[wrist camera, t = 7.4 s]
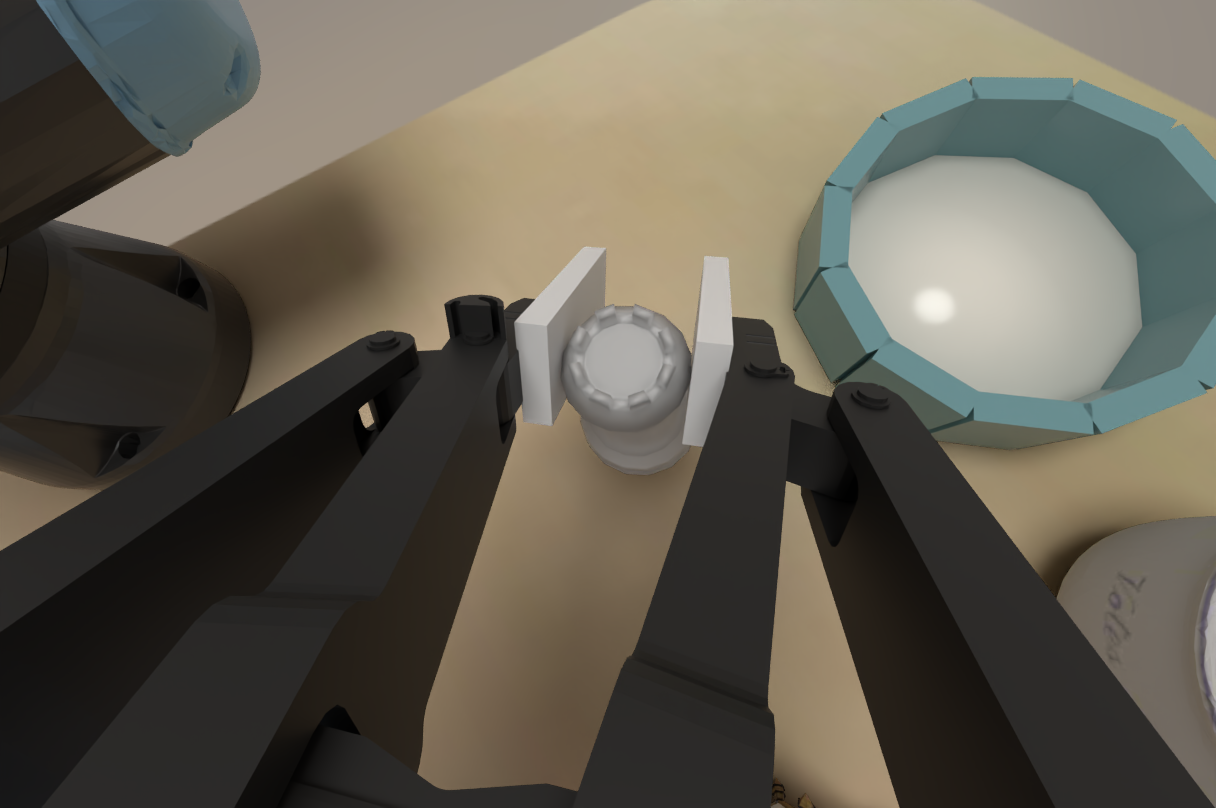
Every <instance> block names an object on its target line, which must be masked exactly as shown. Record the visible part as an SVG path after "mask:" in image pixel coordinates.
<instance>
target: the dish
mask: <svg viewBox="0 0 1216 808" xmlns="http://www.w3.org/2000/svg"><path fill="white" fill-rule="evenodd" d="M1176 121H1177V120H1176V119H1173V118H1171V117H1168V116H1166V115H1164V114H1161V113H1159V112H1156V111H1154V110H1152V109H1149V108H1147V107H1144V106H1142V105H1140V104H1137V103H1135V102H1132V101H1130V100H1128V99H1125V98H1123V97H1120V96H1118V95H1116V94H1113V93H1111V92H1108V91H1106V90H1104V89H1101V88H1099V87H1096V86H1094V85H1092V84H1089V83H1087V82H1084V81H1082V80H1079V81H1078V82H1077V83H1076V84H1075V85H1074V86H1073V78H1008V77H972V78H971V80H970V81H969V82H968V81H967V79H966V78H965V79H963V80H961V81H958V82H956V83H953V84H951V85H949V86H946V87H944V88H942V89H939V90H937V91H934V92H932V93H930V94H927V95H925V96H923V97H920V98H918V99H915V100H913V101H911V102H908V103H906V104H903V105H901V106H899V107H896V108H894V109H892V110H889V111H887V112H884V113H882V115H881V117H880V118H879V117H877V118H876V119H875V121H874V122H873V123H872V124H871V126H870V127H869V128H868V129H867V131H866V132H865V133H864V135H863V136H862V137H861V138H860V140H859V141H858V142H857V143H856V145H855V146H854V147H853V148H852V150H851V151H850V152H849V153H848V155H847V156H846V157H845V158H844V160H843V161H842V162H841V163H840V165H839V166H838V167H837V168H836V170H835V171H834V172H833V173H832V175H831V176H830V177H829V178H828V180H827V181H826V183H825V186H824V188H823V190H822V192H821V194H820V196H819V198H818V200H817V203H816V205H815V207H814V209H813V211H812V213H811V215H810V218H809V220H808V222H807V224H806V226H805V228H804V230H803V232H802V235H801V237H800V239H799V245H798V257H797V270H796V282H795V294H794V307H793V310H797V311H796V313H795V314H794V315H795V317H796V318H797V320H798V322H799V324H800V326H801V328H802V330H803V331H804V333H805V335H806V337H807V339H808V341H809V343H810V344H811V346H812V348H813V350H814V352H815V354H816V356H817V357H818V359H819V361H820V363H821V365H822V367H823V369H824V370H825V372H826V374H827V376H828V378H829V380H830V382H831V383H832V382H834V381H837V380H839V379H841V380H840V381H839V382H838V384H837V385H836V386H835V387H837V386H838V385H839V384H842V383H846V382H864V383H874V384H878V386H879V385H881V386H884V387H886V388H888V389H889V390H891V391H892V392H894V393H896V394H898V395H899V396H901V397H902V398H903V399H904V400H905V401H906V402H907V403H908V404H909V406H910V407H911V408H912V410H913V411H914V412H915V414H916V415H917V416H918V418H919V419H920V420H921V422H922V423H923V424H924V426H925V427H926V428H927V429H928V431H929V432H930V433H931V435H932V436H933V437H934V439H935V440H936V441H942V442H950V443H958V444H966V445H974V446H982V447H990V448H998V449H1006V450H1013V449H1021V448H1026V447H1032V446H1037V445H1042V444H1048V443H1053V442H1059V441H1064V440H1069V439H1075V438H1080V437H1086V436H1091V435H1096V434H1102V433H1104V432H1107V431H1110V430H1112V429H1115V428H1117V427H1120V426H1122V425H1125V424H1128V423H1130V422H1133V421H1135V420H1138V419H1141V418H1143V417H1146V416H1148V415H1151V414H1154V413H1156V412H1159V411H1161V410H1164V409H1166V408H1169V407H1172V406H1174V405H1177V404H1179V403H1182V402H1185V401H1187V400H1190V399H1192V398H1195V397H1198V396H1200V395H1203V394H1205V393H1207V391H1206V390H1207V389H1212V388H1214V386H1215V385H1216V160H1215V159H1214V158H1213V157H1212V156H1211V155H1210V154H1209V152H1208V151H1207V150H1206V149H1205V148H1204V147H1203V146H1202V145H1201V144H1200V143H1199V141H1198V140H1197V139H1196V138H1195V137H1194V136H1193V135H1192V134H1191V133H1190V131H1189V130H1188V129H1187V128H1186V127H1185V126H1184V125H1183V124H1182V125H1179V126H1177V127H1175V128H1172V126H1173V125H1174V123H1175V122H1176ZM1171 128H1172V129H1171Z"/></svg>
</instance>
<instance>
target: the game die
mask: <svg viewBox="0 0 1216 808" xmlns="http://www.w3.org/2000/svg"><path fill="white" fill-rule="evenodd" d="M772 791H773V793H772V796H774V798H775V800H776V802H774V803H772V804H771V808H795V807H793V806H791V805H790V804H788V803H786V802H784V798H785V793H784V791H785V789H784V787H783V785H782V784H781V783H780V782H779V781H778V779H777V778H776V779H775V781H774V784H773V785H772ZM798 807H799V808H815V806H814V805H813V804H812V802H811V801H810V799H809V798H808V796H807V794H806V793H805V794H804V795H803V796H802V797H801V798H798Z"/></svg>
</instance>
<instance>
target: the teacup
mask: <svg viewBox="0 0 1216 808" xmlns="http://www.w3.org/2000/svg"><path fill="white" fill-rule="evenodd" d="M1057 600H1058V602H1059V603H1060V604H1061V606H1062V607H1063V608H1064V610H1065V611H1066V612H1067V614H1068V615H1069V616H1070V618H1071V619H1072V620H1073V621H1074V623H1075V624H1076V625H1077V627H1078V628H1079V629H1080V631H1081V632H1082V633H1083V635H1084V636H1085V637H1086V639H1087V640H1088V641H1089V643H1090V644H1091V645H1092V646H1093V648H1094V649H1095V650H1096V652H1097V653H1098V654H1099V656H1100V657H1101V658H1102V660H1103V661H1104V662H1105V664H1106V665H1107V666H1108V668H1109V669H1110V670H1111V671H1112V673H1113V674H1114V675H1115V677H1116V678H1117V679H1118V681H1119V682H1120V683H1121V685H1122V686H1123V687H1124V689H1125V690H1126V691H1127V692H1128V694H1129V695H1130V696H1131V698H1132V699H1133V700H1134V702H1135V703H1136V704H1137V706H1138V707H1139V708H1140V710H1141V711H1142V712H1143V714H1144V715H1145V716H1146V717H1147V719H1148V720H1149V721H1150V723H1151V724H1152V725H1153V727H1154V728H1155V729H1156V731H1157V732H1158V733H1159V735H1160V736H1161V737H1162V739H1163V740H1164V741H1165V742H1166V744H1167V745H1168V746H1169V748H1170V749H1171V750H1172V752H1173V753H1174V754H1175V756H1176V757H1177V758H1178V760H1179V761H1180V762H1181V764H1182V765H1183V766H1184V767H1185V769H1186V770H1187V771H1188V773H1189V774H1190V775H1191V777H1192V778H1193V779H1194V781H1195V782H1196V783H1197V785H1198V786H1199V787H1200V788H1201V790H1202V791H1203V792H1204V794H1205V795H1206V796H1207V798H1208V799H1209V800H1210V802H1211V803H1212V804H1213V806H1214V807H1215V808H1216V516H1207V517H1192V518H1179V519H1170V520H1163V521H1156V522H1150V523H1145V524H1140V525H1136V526H1133V527H1130V528H1126V529H1123V530H1121V531H1118V532H1116V533H1114V534H1112V535H1110V536H1107V537H1105V538H1103V539H1102V540H1100V541H1099V542H1097V543H1095V544H1094V545H1092V546H1091V547H1090V548H1089V549H1088V550H1086V551H1085V552H1084V553H1083V554H1082V555H1081V556H1080V557H1079V558H1078V559H1077V560H1076V561H1075V563H1074V564H1073V565H1072V567H1071V568H1070V570H1069V571H1068V573H1067V575H1066V576H1065V578H1064V579H1063V582H1062V584H1061V587H1060V590H1059V593H1058V595H1057Z"/></svg>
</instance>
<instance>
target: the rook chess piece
mask: <svg viewBox="0 0 1216 808" xmlns="http://www.w3.org/2000/svg"><path fill="white" fill-rule="evenodd" d="M594 313H595V314H594V315H592V316H591V317H590V318H589V319H587V320H586V321H585V322H584V323H583V324H582V325H581V326H579V325H578V327H577V329H576V330H575V331H574V332H573V334H572V336H571V338H570V340H569V342H568V344H567V346H566V348H565V350H564V352H563V356H562V365H561V377H560V378H561V381H562V384H563V387H564V390H565V393H566V396H567V399H568V402H569V403H570V404H571V405H572V406H573V407H574V408H575V410H576V411H577V412H578V413H579V414H580V415H581V424H582V427H583V430H584V433H585V436H586V439H587V442H588V444H589V446H590V448H591V449H592V450H593V451H594V452H595V453H596V454H597V456H598V457H599V458H600V459H601V460H602V461H603V462H604V463H605V464H606V465H608V466H610V467H612V468H614V469H617V470H619V471H621V472H623V473H625V474H638V475H651V474H653V473H656V472H659V471H662V470H664V469H667V468H670V467H672V466H673V465H674V464H675V463H676V462H677V461H678V460H679V459H680V458H682V457H683V456H684V455H685V454H686V453H687V452H688V451H689V449H690V446H691V445H685V444H682V441H683V432H684V423H685V413H686V404H687V395H688V387H689V385H690V379H691V362H692V356H691V353H690V351H689V348H688V346H687V344H686V341H685V339H684V336H683V334H682V332H681V331H680V330H679V329H678V328H677V327H675V326H674V325H673V324H672V323H671V322H670V321H669V320H668V319H667V318H666V317H665V316H664V315H661V314H659V313H656V312H654V311H651V310H649V309H646V308H644V307H641V306H639V305H636V304H635V306H614V304H612V305H610V306H607V307H604V308H602V309H599V310H596V311H594Z"/></svg>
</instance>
